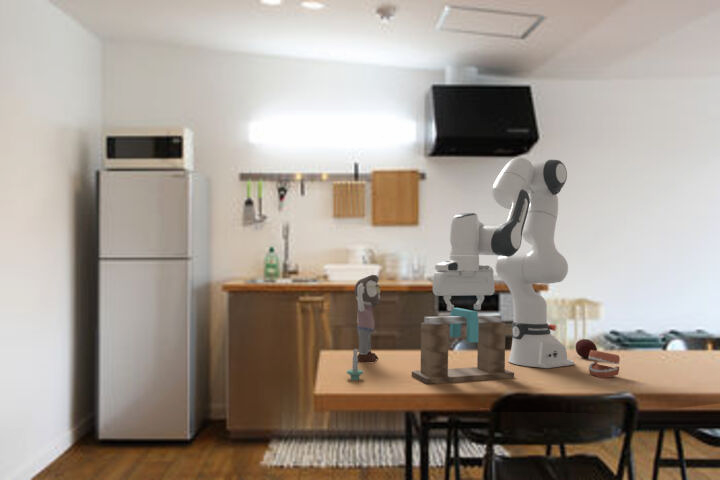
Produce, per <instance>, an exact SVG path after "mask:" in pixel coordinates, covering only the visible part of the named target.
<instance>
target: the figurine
mask: <svg viewBox="0 0 720 480" xmlns="http://www.w3.org/2000/svg"><path fill="white" fill-rule="evenodd" d="M378 282H379V276H378V275H377V274H370V275H368V276H364V278H361V279H359V280H357V282H356V283H355V286H354V297H355V299H356V300H357V318H356V322H357V325H356V328H357V335H358V343H359V344H358V349H357V350H358V351H357V355H358V361H360V362H359V363H366V362H373V363H376V362H377V360H376V359H378V360H379V357H378V355H377V354H376V353H375V352H372V351H371V350H372V345H371V340H372V339H371V335H372V333H374V330H375V324H376V323H375V319H374V315H373V313H374V312H373V310H374V309H375V308H374V307H377V306H378V305H379V304H380V299H381V295H380V293H381V285H379V283H378ZM375 361H376V362H375Z"/></svg>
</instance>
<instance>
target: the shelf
mask: <svg viewBox="0 0 720 480" xmlns="http://www.w3.org/2000/svg"><path fill="white" fill-rule="evenodd" d="M502 317H503V316H502V315H500V314H491V315H490V314H487V315H486V314H485V315H478V318H479V327H478V342H477V362H476V365H477V366H475V367H474V366H471V367H460V368H459V367H457V368H456V367H455V368H449V325H450V324H459V323H461V324H467V318H465V317H461V316H450V315H448V316H447V315H446V316H424V318H423V321H424V322H420V370H412V371H411V377H412V376H413V377H412V378H414V377H415V380H418V381H420V382H422V383H424V384H425V383H426V385H430V384H429V383H435V384H442V383H441V382H449V383H460V382H472V381H473V382H474V381H487V380H500V379H513V378H515V371H514V372H513V371H510V370H508V369H506V322H504V321H502Z"/></svg>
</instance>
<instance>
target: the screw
mask: <svg viewBox="0 0 720 480" xmlns="http://www.w3.org/2000/svg"><path fill="white" fill-rule="evenodd" d="M352 350H353V353H352V354H353V356H352V368H351V369H350V368H349V369H347V371H346V374H347V375H349V377H350V380H351V381H359V380H360V376H362V375H363V374H365V373H364V370H363V369H359V362H358V349H357V348H355V349H352Z"/></svg>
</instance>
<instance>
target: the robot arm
mask: <svg viewBox="0 0 720 480" xmlns="http://www.w3.org/2000/svg"><path fill="white" fill-rule="evenodd" d="M567 178H568V172H567V168H566V165H565V164H564V163H563V162H562V161H561V160H559V159H548V160H540V161H532V162H531V161H530V160H529V159H527V158H525V157H517V156H516V157H514V158H512V159H511V160H509V161H508V162H507V163H506V164H505V166H504V167H503V168H502V169H501V171H500V172H499V174H498V175H497V177H496V179H495V181H494V182H493V185H492V188H491V193H492V197H493V199H494V200H495V202H496V203H497V204H498V206H499V205H500V206H501V207H503V208H504V209H507V210H509V213H508V216H507V219H506V221H505V222H502V223H497V224H484V223H482V222H481V221H480V220H479V217H478V214H477V213H475V212H466V213H465V212H464V213H458V214H456V215H454V216H453V217H452V219H451V224H450V232H449V233H450V234H449V236H450V237H449V238H450V239H449V241H450V242H449V243H450V246H451V247H450V248H451V250H450V253H449V259H446V260H444V261H440V262H437V263H436V264H435V266H434V270H435V273H434V274H433V278H432V280H433V281H432V293H433V294H434V295H435V296H438V297H440V296H441V297H442V296H443V300H444V303H445V304H446V310H447V311H448V312H451V311H453V310H454V308H455V305H454V304H452V302H451V300H452V297H453V296H460V297H461V296H476V299H477V301H476V302H475V303H473V311H481V308H482V306H481V305H482V304H483V302H484V300H485V296H492V295H494V294H495V292H496V290H495V287H496V286H495V279H494V269H493V268H492V267H491V266H490V265H487V264H486V265H482V264H481V265H480V256H482V255H483V256H498V257H497V259H496V262H495V272H496V274H497V276H498V278H500V279H501V280H502V281H503V282H504V283H505V285H506V286H507V288H508V290H509V292H510V295H511V299H512V303H513V304H512V309H513V321H512V322H511V333H512V341H511V348H510V353H509V358H508V362H509V363H511V364H514V365H518V366H523V367H535V368H541V369H551V368H558V367H565V366H572V365H575V361H574V360H572V359H571V358H568V354H567V348H566V346H565V345H564V344H563V343H562V342H561V341H560V340H558V339H557V338H556V337H555V336H554V335H553V334H552V332H551V331H556V330H557V325H556V324H551V323H550V324H549V323H547V311H548V310H547V309H548V307H547V305H548V304H547V301H546V300H545V298H544V296H542V295H540V294H538V292H537V291H535V289H534V287H533V284H544V285H545V284H546V285H548V284H557V283H562V282H563V281H564V280H565V279H566V277H567V276H568V272H569V265H568V262H567V260H566V257H564V256H563V255H562V254H561V253H560V252H559V251H558V249H557V247H556V245H555V240H554V239H555V231H556V227H557V226H556V225H557V220H558V214H559V213H558V211H559V197H558V194H559V193H560V192H561V190H562V188H563V187H564V186H565V184H566V181H567V180H568V179H567ZM522 239H523V240H524V241H525V242H527V243H528V244H529V245H531V247H532V248H531V251H519V249H520V248H521V245H522Z"/></svg>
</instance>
